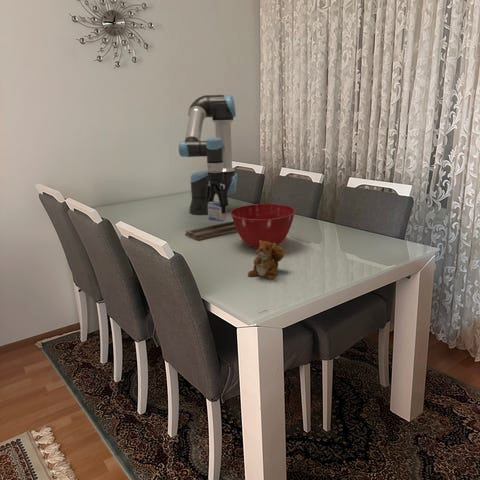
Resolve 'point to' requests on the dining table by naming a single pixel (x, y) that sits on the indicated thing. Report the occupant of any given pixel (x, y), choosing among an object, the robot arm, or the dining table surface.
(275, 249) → the stuffed squirrel
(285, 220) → the mixing bowl
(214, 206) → the medicine box
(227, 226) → the tray
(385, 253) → the dining table surface
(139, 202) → the dining table surface
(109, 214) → the dining table surface
